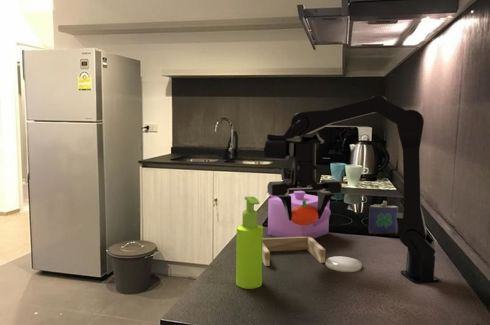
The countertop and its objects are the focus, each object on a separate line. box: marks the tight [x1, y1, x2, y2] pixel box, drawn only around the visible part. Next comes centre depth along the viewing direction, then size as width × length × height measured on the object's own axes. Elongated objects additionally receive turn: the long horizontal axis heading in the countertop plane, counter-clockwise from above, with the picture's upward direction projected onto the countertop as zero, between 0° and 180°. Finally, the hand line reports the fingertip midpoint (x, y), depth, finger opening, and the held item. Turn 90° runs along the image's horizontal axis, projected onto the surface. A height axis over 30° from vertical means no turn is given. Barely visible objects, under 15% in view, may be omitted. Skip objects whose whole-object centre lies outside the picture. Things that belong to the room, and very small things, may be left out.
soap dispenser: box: [235, 196, 264, 290], centre depth 93 cm, size 6×7×20 cm
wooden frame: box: [262, 236, 326, 267], centre depth 112 cm, size 12×16×4 cm
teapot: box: [266, 191, 331, 240], centre depth 134 cm, size 15×25×14 cm, turn 47°
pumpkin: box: [291, 201, 318, 226], centre depth 109 cm, size 7×8×6 cm
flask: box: [368, 200, 399, 235], centre depth 136 cm, size 9×3×11 cm, turn 88°
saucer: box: [324, 255, 363, 273], centre depth 106 cm, size 9×9×1 cm
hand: (304, 219), depth 109 cm, fingers closed on pumpkin, 7 cm apart
